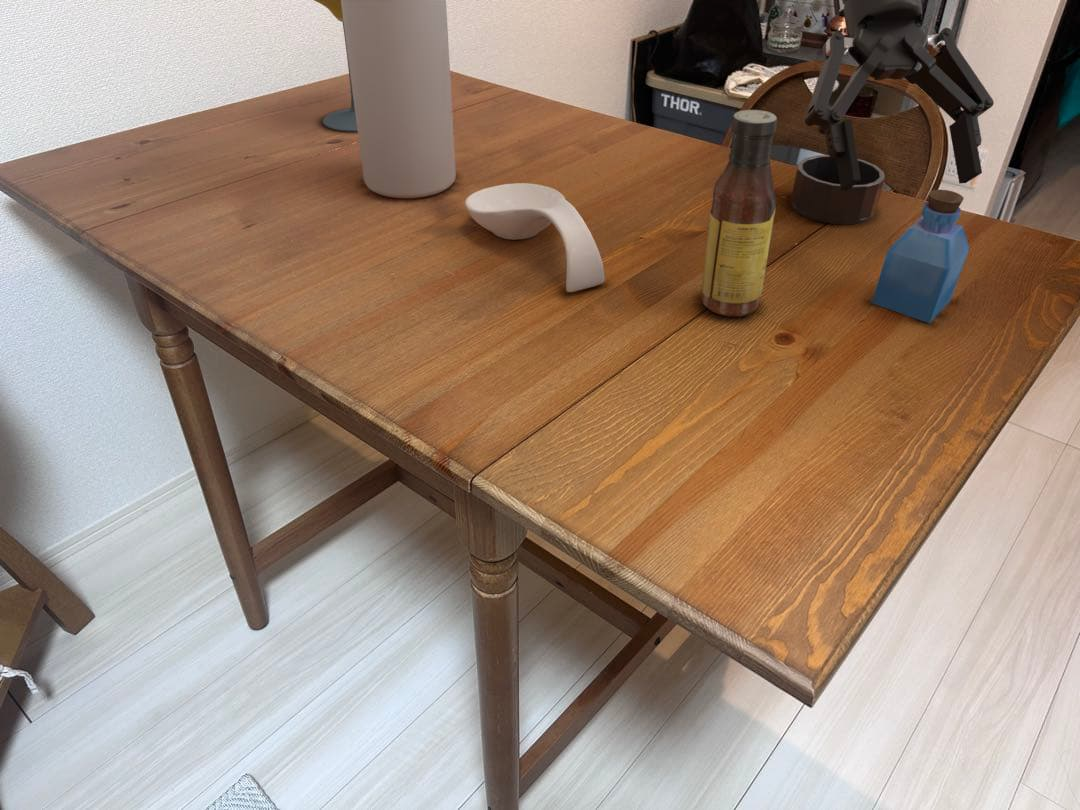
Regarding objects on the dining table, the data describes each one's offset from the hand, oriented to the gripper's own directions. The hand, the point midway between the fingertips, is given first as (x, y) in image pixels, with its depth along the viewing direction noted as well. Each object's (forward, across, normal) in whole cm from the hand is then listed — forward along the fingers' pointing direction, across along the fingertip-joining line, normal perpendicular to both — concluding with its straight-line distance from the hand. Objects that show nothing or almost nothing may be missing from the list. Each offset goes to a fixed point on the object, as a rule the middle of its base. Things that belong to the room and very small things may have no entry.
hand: (911, 182), depth 85 cm
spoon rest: (-1, +38, -17) cm, 41 cm away
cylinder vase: (-16, +52, -32) cm, 63 cm away
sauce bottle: (+10, +20, -6) cm, 23 cm away
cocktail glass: (-35, +59, -51) cm, 86 cm away
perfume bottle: (+12, 0, -4) cm, 13 cm away
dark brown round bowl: (-5, -2, -21) cm, 22 cm away
